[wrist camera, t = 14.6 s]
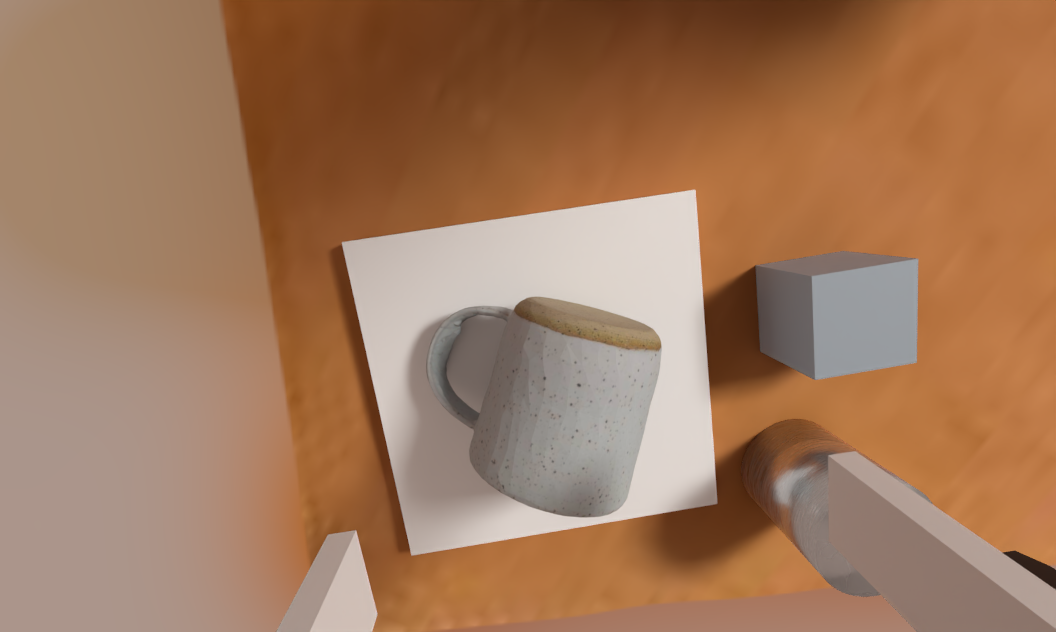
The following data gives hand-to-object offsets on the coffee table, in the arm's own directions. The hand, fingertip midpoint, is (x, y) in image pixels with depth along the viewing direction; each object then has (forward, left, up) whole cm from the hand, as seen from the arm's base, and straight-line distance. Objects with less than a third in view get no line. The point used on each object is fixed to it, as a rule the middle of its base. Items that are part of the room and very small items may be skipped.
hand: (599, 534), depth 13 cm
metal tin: (-14, +8, -14) cm, 21 cm away
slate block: (-15, -2, -14) cm, 21 cm away
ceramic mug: (+1, -1, -13) cm, 13 cm away
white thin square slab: (0, 0, -14) cm, 14 cm away
